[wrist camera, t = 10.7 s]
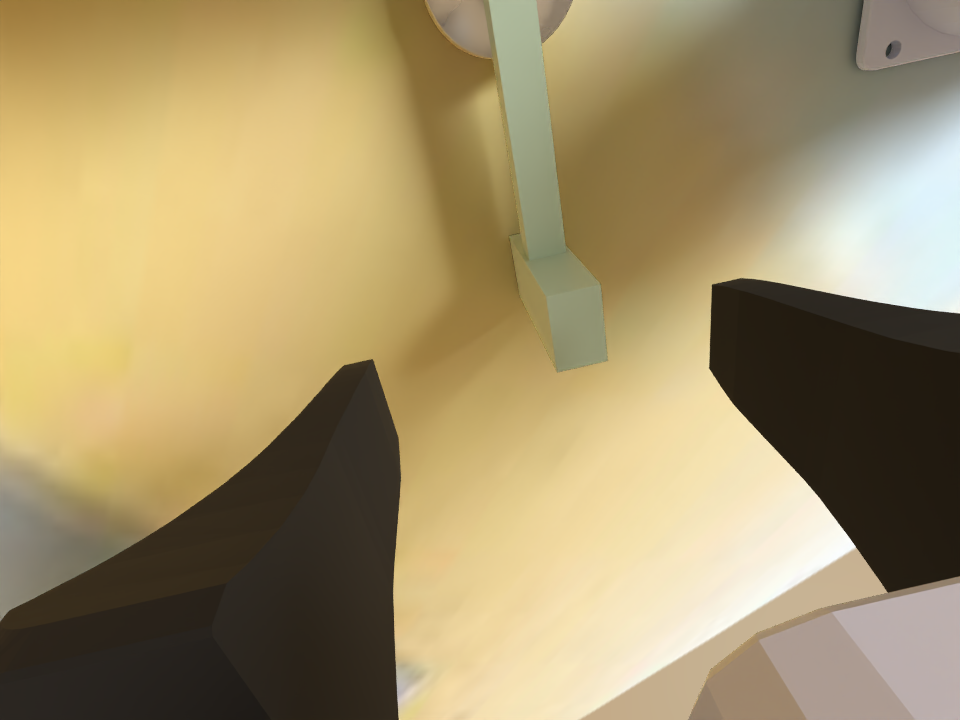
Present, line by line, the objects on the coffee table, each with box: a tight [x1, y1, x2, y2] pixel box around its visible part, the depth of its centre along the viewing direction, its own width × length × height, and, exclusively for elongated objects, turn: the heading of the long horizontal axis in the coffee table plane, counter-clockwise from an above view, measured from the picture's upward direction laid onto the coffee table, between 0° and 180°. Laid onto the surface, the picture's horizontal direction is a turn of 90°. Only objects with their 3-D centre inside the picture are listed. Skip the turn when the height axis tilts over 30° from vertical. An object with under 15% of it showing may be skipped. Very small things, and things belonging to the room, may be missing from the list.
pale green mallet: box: [483, 0, 608, 372], centre depth 15 cm, size 4×13×6 cm, turn 11°
